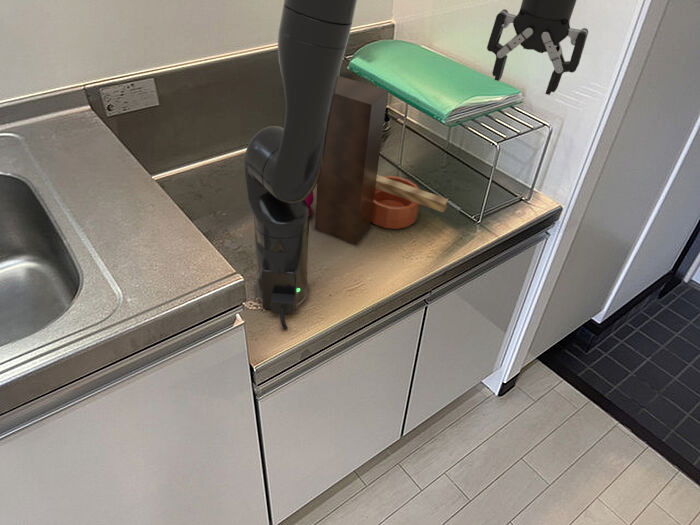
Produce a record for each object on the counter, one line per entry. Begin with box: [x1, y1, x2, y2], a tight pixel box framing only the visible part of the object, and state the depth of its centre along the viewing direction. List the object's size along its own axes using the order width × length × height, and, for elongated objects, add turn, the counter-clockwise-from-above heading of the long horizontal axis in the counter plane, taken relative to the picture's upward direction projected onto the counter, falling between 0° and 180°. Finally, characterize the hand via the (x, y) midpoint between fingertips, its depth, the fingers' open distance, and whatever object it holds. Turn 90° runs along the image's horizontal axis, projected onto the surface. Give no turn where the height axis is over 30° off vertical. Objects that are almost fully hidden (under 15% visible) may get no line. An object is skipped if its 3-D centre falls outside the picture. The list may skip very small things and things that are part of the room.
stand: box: [314, 75, 389, 246], centre depth 108 cm, size 10×7×32 cm
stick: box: [375, 174, 449, 213], centre depth 120 cm, size 24×2×2 cm, turn 63°
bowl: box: [371, 175, 421, 230], centre depth 122 cm, size 13×13×6 cm
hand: (522, 85), depth 90 cm, fingers open, 8 cm apart
